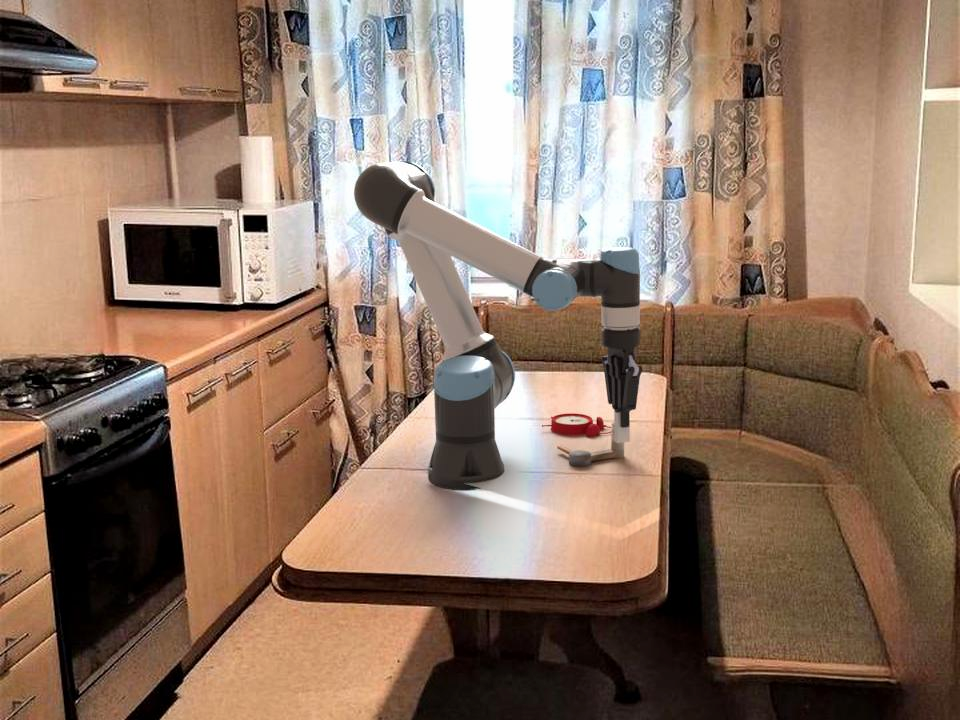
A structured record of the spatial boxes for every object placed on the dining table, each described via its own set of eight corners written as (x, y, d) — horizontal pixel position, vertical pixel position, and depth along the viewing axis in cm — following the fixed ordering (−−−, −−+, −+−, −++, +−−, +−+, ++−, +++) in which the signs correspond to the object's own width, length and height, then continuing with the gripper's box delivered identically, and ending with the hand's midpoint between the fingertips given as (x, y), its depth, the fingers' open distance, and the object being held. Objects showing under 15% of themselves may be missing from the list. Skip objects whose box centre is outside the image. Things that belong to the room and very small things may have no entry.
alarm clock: (551, 412, 235) (613, 402, 230) (557, 438, 236) (619, 429, 230) (537, 424, 226) (602, 415, 220) (544, 451, 227) (609, 442, 221)
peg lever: (576, 468, 202) (576, 434, 201) (550, 453, 211) (549, 421, 210) (629, 458, 208) (629, 425, 206) (601, 444, 217) (601, 413, 215)
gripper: (654, 329, 197) (654, 447, 202) (622, 319, 209) (623, 431, 214) (619, 333, 194) (620, 452, 199) (589, 323, 206) (591, 436, 211)
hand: (622, 441), depth 206 cm, fingers closed
